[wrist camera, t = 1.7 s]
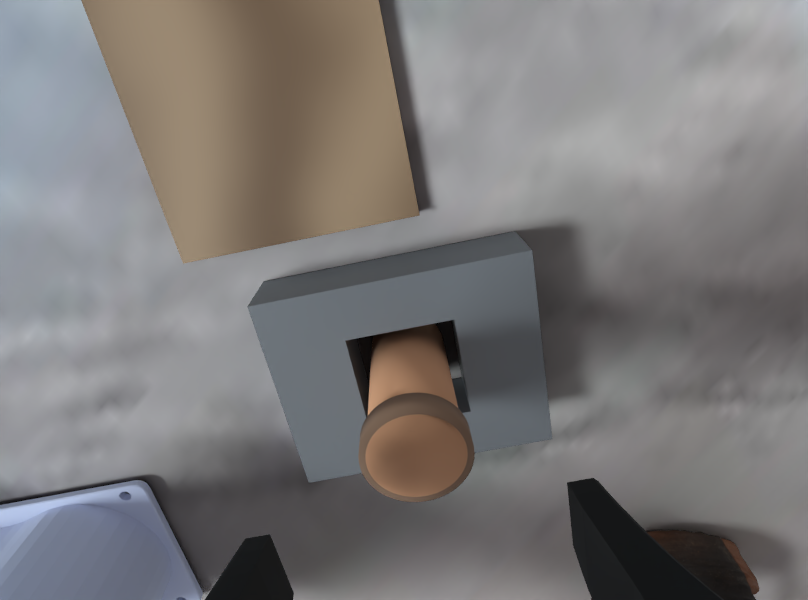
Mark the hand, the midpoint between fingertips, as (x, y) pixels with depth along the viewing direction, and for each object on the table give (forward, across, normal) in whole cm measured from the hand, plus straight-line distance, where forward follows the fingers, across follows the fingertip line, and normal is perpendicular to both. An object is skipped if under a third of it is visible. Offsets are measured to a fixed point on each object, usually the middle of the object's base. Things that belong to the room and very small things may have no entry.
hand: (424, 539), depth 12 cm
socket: (+10, 0, 0) cm, 10 cm away
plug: (+10, 0, 0) cm, 10 cm away
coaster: (+10, +3, -10) cm, 14 cm away
